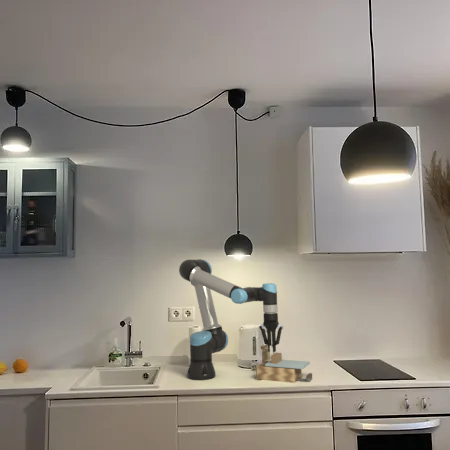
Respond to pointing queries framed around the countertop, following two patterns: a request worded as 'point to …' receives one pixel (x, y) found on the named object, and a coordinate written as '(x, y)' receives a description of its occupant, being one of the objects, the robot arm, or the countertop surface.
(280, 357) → the lid
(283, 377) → the toolbox
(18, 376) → the countertop surface
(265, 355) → the beige wooden tall block
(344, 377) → the countertop surface
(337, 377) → the countertop surface
